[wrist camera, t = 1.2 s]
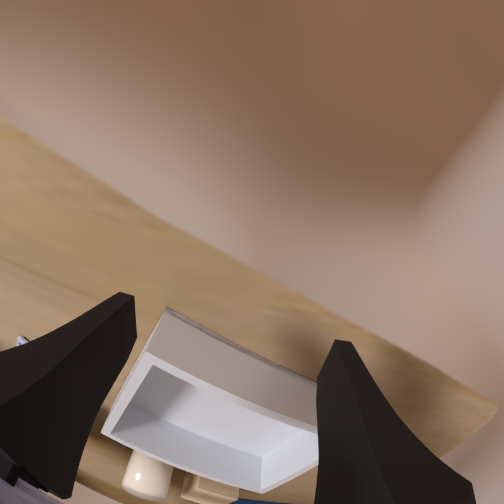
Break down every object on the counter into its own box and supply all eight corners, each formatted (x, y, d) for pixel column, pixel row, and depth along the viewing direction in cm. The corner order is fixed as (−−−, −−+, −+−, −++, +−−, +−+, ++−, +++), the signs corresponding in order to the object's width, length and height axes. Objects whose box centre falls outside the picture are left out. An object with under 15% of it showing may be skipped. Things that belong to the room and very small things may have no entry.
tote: (348, 395, 25) (357, 439, 21) (263, 457, 30) (262, 493, 26) (167, 306, 22) (145, 351, 18) (117, 395, 27) (100, 432, 23)
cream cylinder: (168, 459, 32) (157, 504, 26) (132, 442, 31) (116, 488, 25) (184, 445, 30) (173, 496, 24) (144, 428, 29) (127, 478, 23)
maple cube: (221, 477, 33) (217, 508, 29) (187, 465, 33) (180, 497, 28) (241, 465, 32) (238, 499, 27) (204, 452, 31) (197, 487, 26)
